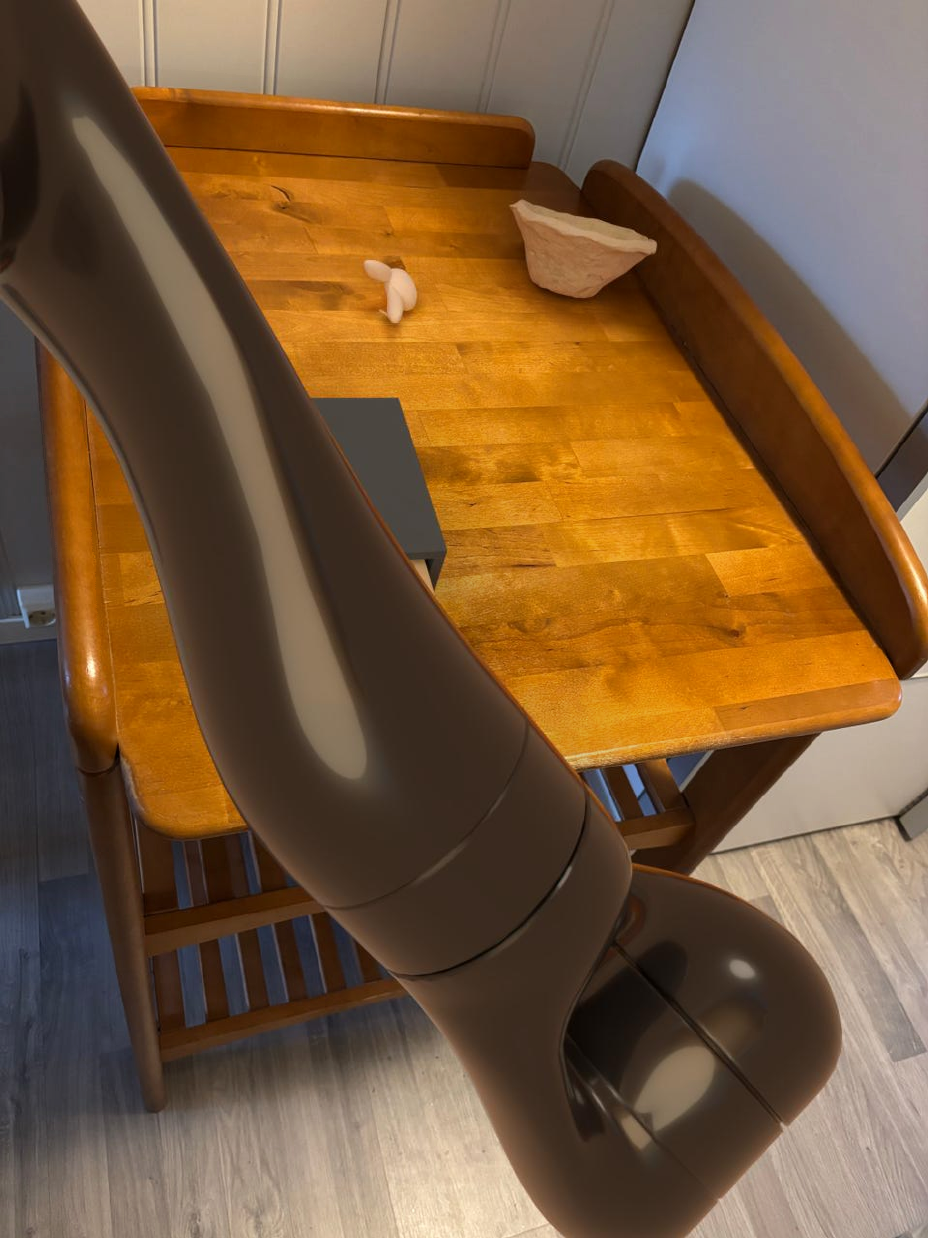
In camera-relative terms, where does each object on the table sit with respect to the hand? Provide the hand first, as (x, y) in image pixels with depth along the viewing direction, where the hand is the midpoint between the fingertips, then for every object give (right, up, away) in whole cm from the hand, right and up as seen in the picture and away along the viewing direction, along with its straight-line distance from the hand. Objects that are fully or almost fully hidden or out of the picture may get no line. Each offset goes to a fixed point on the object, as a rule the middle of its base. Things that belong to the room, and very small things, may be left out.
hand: (375, 740), depth 60 cm
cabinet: (-6, +11, +13) cm, 19 cm away
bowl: (+16, +42, +43) cm, 62 cm away
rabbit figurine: (-2, +36, +34) cm, 49 cm away
